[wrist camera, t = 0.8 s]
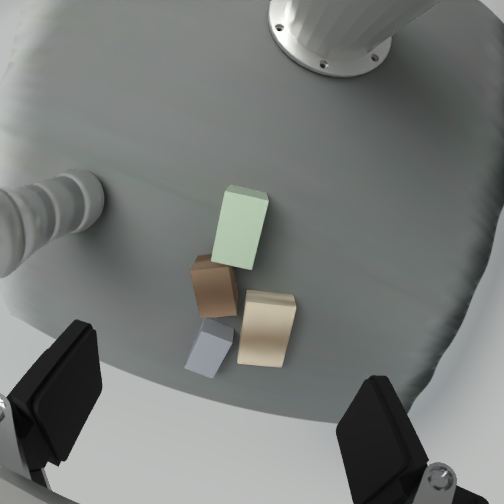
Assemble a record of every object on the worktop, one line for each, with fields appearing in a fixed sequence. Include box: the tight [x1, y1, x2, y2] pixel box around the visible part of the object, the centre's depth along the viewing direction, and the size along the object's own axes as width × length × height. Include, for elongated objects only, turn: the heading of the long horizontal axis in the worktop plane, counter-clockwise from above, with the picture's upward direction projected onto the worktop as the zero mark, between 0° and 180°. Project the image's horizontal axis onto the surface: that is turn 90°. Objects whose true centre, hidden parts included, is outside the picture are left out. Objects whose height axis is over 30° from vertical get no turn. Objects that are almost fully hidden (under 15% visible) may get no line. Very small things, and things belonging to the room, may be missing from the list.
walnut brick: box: [190, 254, 239, 318], centre depth 29 cm, size 5×4×4 cm
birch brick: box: [237, 289, 296, 367], centre depth 31 cm, size 8×5×3 cm, turn 172°
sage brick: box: [211, 184, 269, 270], centre depth 26 cm, size 6×4×5 cm, turn 167°
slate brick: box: [184, 318, 234, 379], centre depth 32 cm, size 6×4×3 cm, turn 155°
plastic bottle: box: [0, 169, 104, 278], centre depth 18 cm, size 6×7×20 cm
